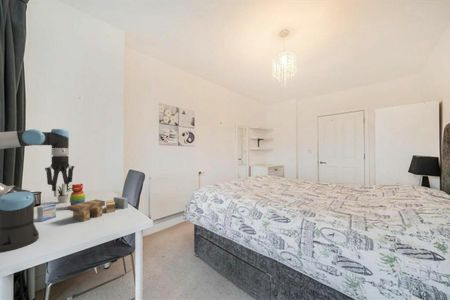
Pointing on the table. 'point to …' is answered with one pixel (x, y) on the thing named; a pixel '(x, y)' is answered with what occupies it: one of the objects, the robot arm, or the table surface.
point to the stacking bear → (77, 195)
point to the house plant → (62, 197)
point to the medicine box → (46, 212)
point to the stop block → (121, 202)
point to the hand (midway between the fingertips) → (60, 195)
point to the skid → (110, 206)
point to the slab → (86, 206)
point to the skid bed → (87, 214)
